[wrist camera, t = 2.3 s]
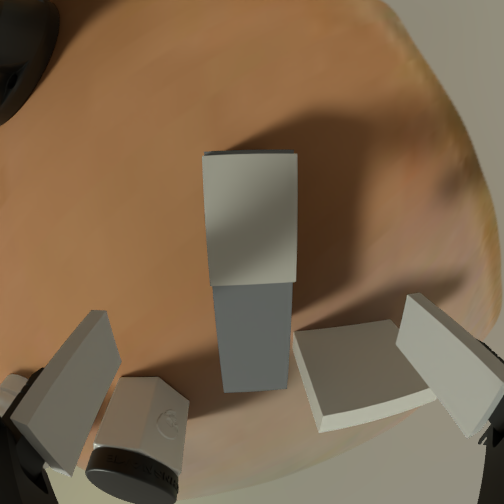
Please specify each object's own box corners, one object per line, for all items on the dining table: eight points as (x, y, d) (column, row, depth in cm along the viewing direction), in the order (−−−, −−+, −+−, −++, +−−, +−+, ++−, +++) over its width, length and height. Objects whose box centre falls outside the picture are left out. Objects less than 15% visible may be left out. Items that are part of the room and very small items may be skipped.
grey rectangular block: (214, 156, 19) (202, 151, 11) (271, 154, 20) (297, 149, 12) (224, 326, 24) (223, 398, 16) (271, 324, 24) (288, 393, 16)
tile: (293, 331, 24) (323, 416, 15) (390, 319, 25) (444, 382, 15) (292, 350, 25) (318, 434, 15) (385, 336, 26) (435, 401, 16)
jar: (205, 409, 27) (200, 504, 15) (158, 430, 28) (143, 510, 17) (144, 360, 24) (110, 461, 13) (101, 388, 25) (66, 470, 14)
